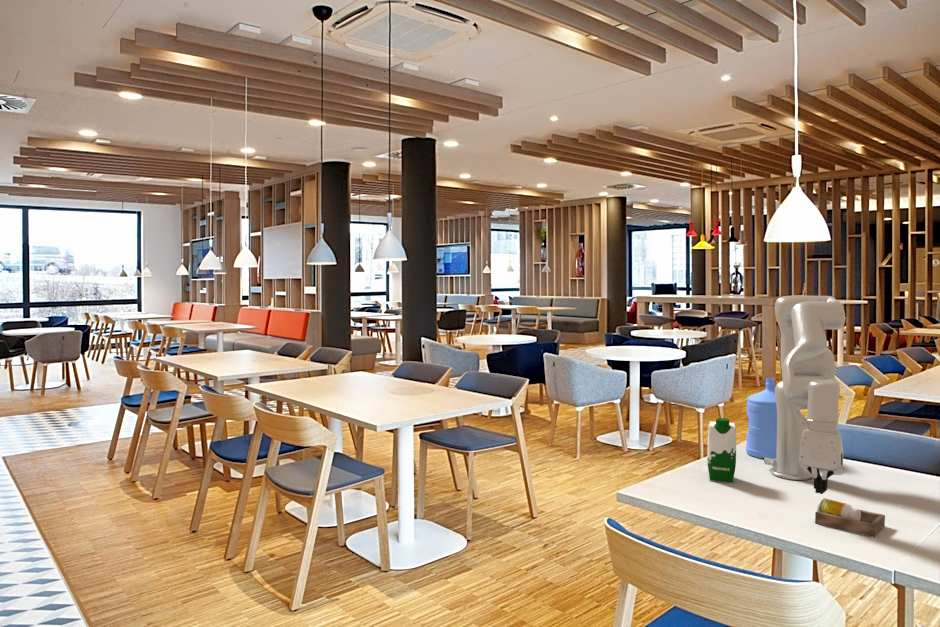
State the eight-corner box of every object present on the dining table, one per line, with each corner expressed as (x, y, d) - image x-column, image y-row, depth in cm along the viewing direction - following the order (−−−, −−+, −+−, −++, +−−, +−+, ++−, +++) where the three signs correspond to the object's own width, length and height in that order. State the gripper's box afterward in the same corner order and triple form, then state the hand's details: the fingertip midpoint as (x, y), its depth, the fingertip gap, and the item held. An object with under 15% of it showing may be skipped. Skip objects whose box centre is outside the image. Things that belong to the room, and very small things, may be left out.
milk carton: (706, 481, 224) (708, 419, 223) (707, 473, 232) (708, 414, 231) (736, 484, 221) (737, 421, 220) (735, 476, 230) (736, 416, 228)
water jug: (802, 458, 250) (804, 381, 248) (765, 462, 246) (767, 383, 244) (771, 448, 265) (773, 375, 263) (736, 451, 261) (738, 376, 259)
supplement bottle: (828, 504, 194) (864, 513, 186) (821, 520, 192) (857, 531, 184) (821, 493, 192) (858, 502, 184) (814, 510, 190) (851, 520, 182)
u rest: (815, 523, 187) (815, 512, 187) (827, 513, 194) (828, 502, 194) (873, 537, 177) (874, 525, 177) (884, 526, 185) (885, 515, 184)
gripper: (788, 424, 192) (787, 489, 193) (848, 432, 181) (846, 502, 183) (798, 419, 197) (796, 483, 198) (856, 428, 187) (854, 495, 188)
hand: (820, 492), depth 191 cm, fingers closed
